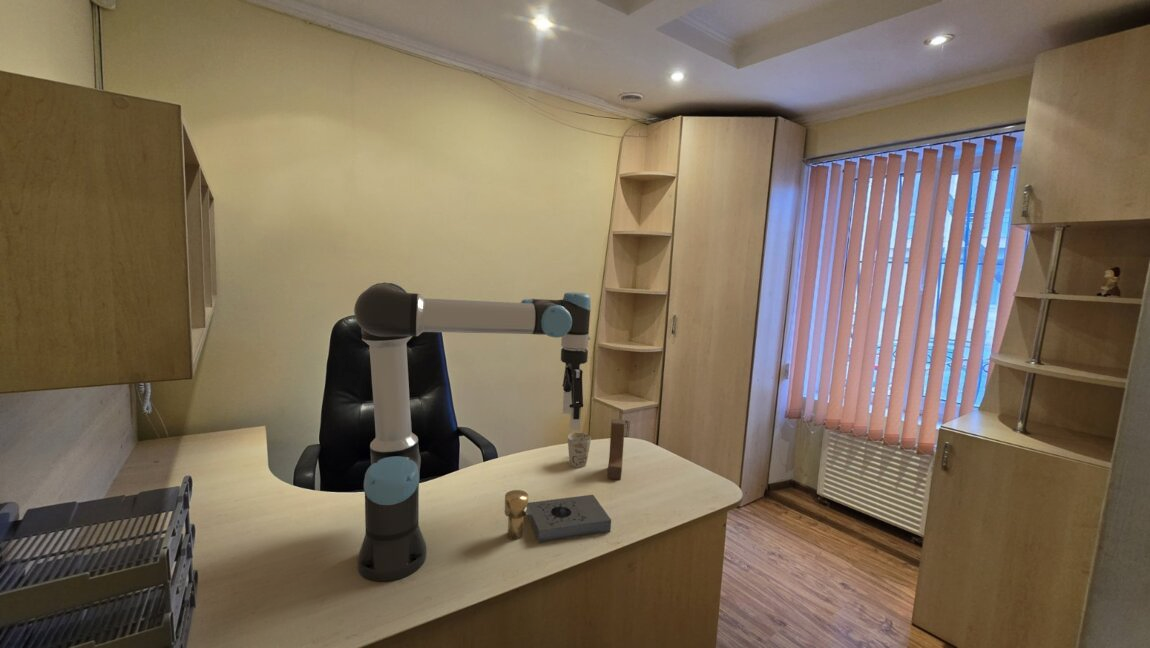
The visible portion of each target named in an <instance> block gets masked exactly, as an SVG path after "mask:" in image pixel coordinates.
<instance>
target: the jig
mask: <svg viewBox="0 0 1150 648" xmlns="http://www.w3.org/2000/svg"><path fill="white" fill-rule="evenodd" d="M526 516H527V519H528V520H529V523H530V526H531V528H532V532H534V535H535V538H536V541H537V543H538V544H542V543H547V542H548V543H549V542H553V541H554V542H555V541H561V540H567V539H573V538H574V539H575V538H581V537H586V536H593V535H599V534H606V533H611V532H612V531H611V528H612V527H611V526H612V519H611V517H610V516H609V515H608V513H607V512H606V511H605V509H604V508H603V506H602V505H601V504H600V502H599V501H598V500H597V498H596V497H595V495H594V494H586V495H585V494H584V495H578V496H577V495H576V496H572V497H564V498H555V499H554V498H553V499H548V500H540V501H538V500H537V501H532V502H530V501H529V502H528V513H527V514H526Z"/></svg>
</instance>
